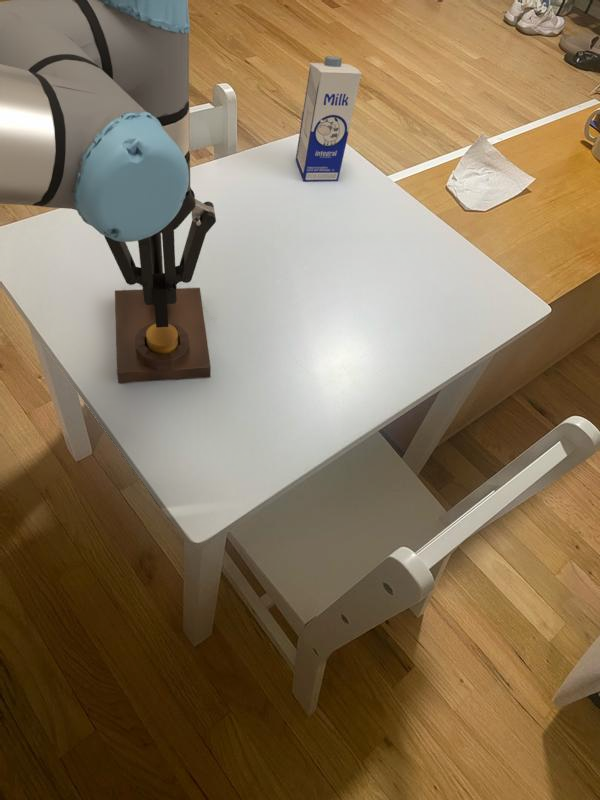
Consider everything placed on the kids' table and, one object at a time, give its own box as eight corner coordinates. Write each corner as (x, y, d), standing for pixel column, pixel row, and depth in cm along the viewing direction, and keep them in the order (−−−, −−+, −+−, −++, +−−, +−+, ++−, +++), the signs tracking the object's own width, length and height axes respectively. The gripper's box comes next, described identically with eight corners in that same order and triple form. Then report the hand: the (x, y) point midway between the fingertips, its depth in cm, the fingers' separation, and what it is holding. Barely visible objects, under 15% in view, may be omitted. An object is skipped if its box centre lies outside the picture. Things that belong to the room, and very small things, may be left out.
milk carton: (302, 181, 111) (320, 70, 95) (294, 159, 114) (310, 50, 98) (338, 181, 112) (363, 72, 96) (330, 159, 116) (351, 51, 100)
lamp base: (118, 383, 79) (115, 364, 76) (116, 301, 87) (113, 280, 84) (210, 377, 82) (211, 358, 78) (199, 298, 90) (199, 278, 87)
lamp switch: (147, 355, 78) (146, 346, 76) (146, 332, 80) (145, 323, 78) (179, 353, 79) (178, 344, 77) (176, 330, 81) (176, 321, 79)
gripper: (214, 127, 60) (210, 296, 79) (77, 124, 57) (107, 299, 76) (223, 172, 56) (216, 338, 75) (76, 171, 53) (108, 344, 72)
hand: (161, 319), depth 76 cm, fingers closed
